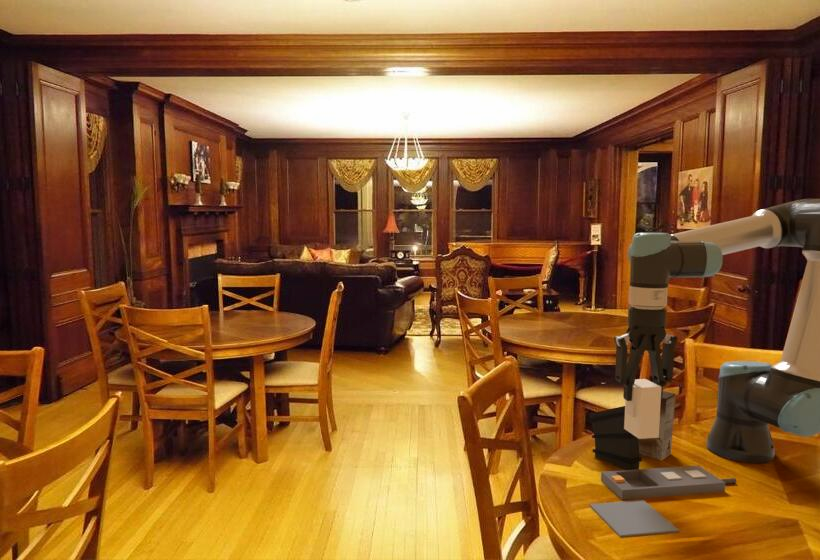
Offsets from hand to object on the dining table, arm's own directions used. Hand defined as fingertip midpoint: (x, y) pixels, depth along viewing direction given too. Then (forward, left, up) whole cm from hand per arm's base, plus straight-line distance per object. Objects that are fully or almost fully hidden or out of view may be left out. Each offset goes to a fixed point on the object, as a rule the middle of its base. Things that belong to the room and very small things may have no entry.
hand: (641, 414), depth 130 cm
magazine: (-2, -14, -17) cm, 22 cm away
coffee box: (-14, -18, -17) cm, 28 cm away
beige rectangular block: (0, 0, -4) cm, 4 cm away
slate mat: (+8, +12, -17) cm, 22 cm away
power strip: (-9, 0, -17) cm, 19 cm away
